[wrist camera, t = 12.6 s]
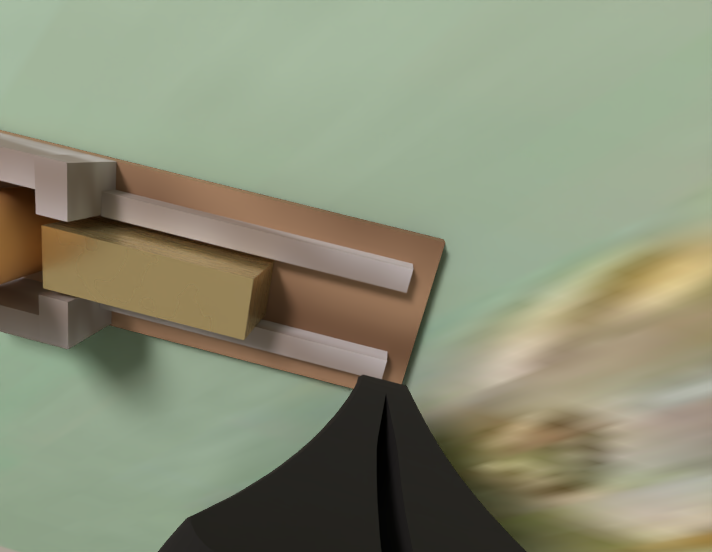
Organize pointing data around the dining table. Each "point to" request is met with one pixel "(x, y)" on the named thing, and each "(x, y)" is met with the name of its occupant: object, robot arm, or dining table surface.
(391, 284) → the mount
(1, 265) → the cylinder
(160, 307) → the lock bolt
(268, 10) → the dining table surface
